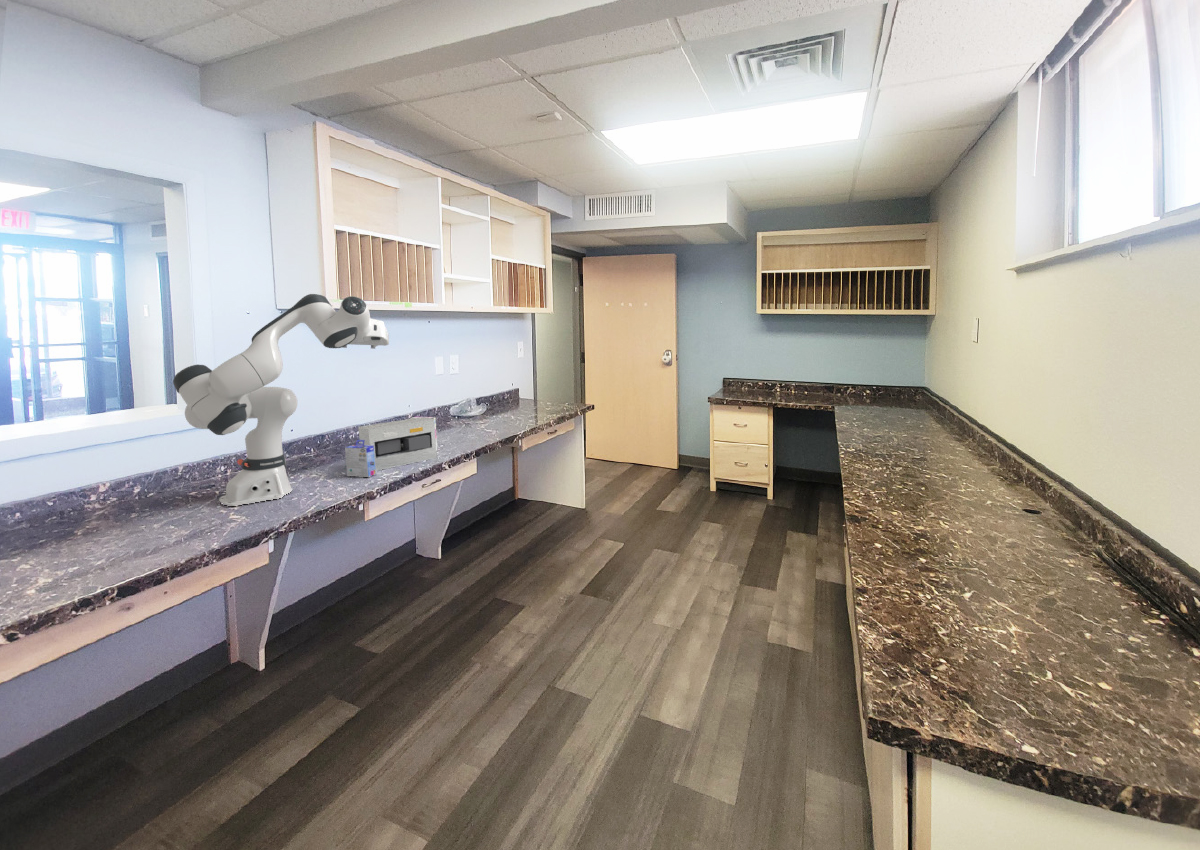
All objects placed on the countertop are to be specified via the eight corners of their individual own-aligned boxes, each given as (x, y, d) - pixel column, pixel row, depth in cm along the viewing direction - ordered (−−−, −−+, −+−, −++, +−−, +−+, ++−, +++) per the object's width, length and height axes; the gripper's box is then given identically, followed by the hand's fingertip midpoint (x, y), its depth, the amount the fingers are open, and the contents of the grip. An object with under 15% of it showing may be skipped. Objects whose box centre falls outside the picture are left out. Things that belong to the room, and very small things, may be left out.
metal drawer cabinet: (372, 472, 233) (368, 429, 229) (362, 468, 239) (358, 426, 235) (437, 458, 254) (434, 419, 251) (426, 455, 261) (423, 416, 257)
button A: (378, 454, 236) (377, 442, 235) (372, 452, 239) (371, 441, 238) (400, 450, 243) (400, 438, 242) (395, 448, 246) (394, 437, 245)
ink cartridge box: (377, 474, 230) (374, 439, 227) (369, 478, 225) (365, 442, 222) (355, 473, 232) (351, 438, 229) (346, 477, 227) (343, 441, 224)
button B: (409, 450, 242) (408, 439, 241) (403, 449, 245) (402, 437, 244) (430, 446, 249) (429, 435, 248) (424, 445, 252) (423, 434, 251)
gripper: (322, 335, 187) (326, 353, 200) (388, 338, 195) (388, 355, 207) (323, 318, 189) (327, 337, 202) (388, 321, 196) (388, 339, 209)
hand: (358, 346), depth 204 cm, fingers open, 8 cm apart
